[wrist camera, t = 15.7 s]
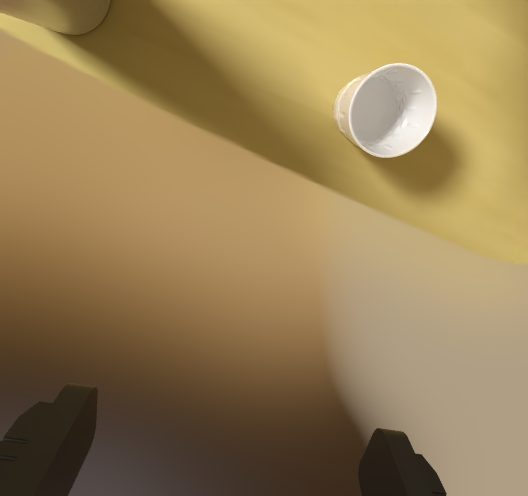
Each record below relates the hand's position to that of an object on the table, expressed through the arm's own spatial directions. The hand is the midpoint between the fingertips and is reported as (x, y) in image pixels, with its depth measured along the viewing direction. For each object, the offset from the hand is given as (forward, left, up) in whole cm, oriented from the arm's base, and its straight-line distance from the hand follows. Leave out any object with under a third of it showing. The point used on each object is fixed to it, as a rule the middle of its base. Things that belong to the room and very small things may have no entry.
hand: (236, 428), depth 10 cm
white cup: (+11, +10, -36) cm, 39 cm away
